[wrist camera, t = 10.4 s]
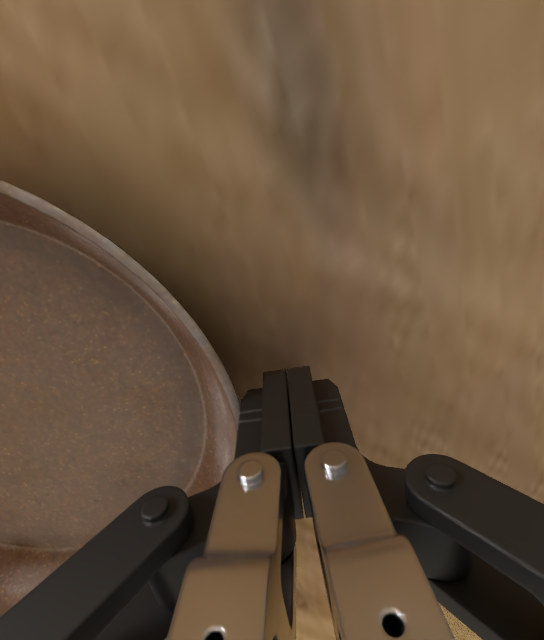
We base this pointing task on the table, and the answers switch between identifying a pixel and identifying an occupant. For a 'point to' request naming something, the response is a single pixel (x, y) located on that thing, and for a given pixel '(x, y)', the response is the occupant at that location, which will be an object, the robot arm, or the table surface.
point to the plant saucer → (93, 390)
